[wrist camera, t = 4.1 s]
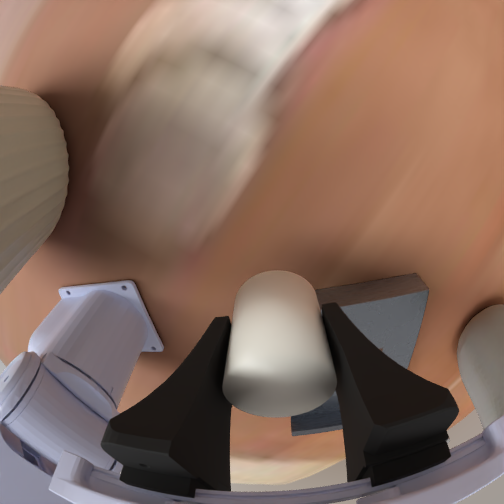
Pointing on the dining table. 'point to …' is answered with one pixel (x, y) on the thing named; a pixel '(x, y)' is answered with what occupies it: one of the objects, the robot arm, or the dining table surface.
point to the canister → (28, 177)
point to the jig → (371, 331)
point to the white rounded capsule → (278, 348)
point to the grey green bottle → (484, 362)
